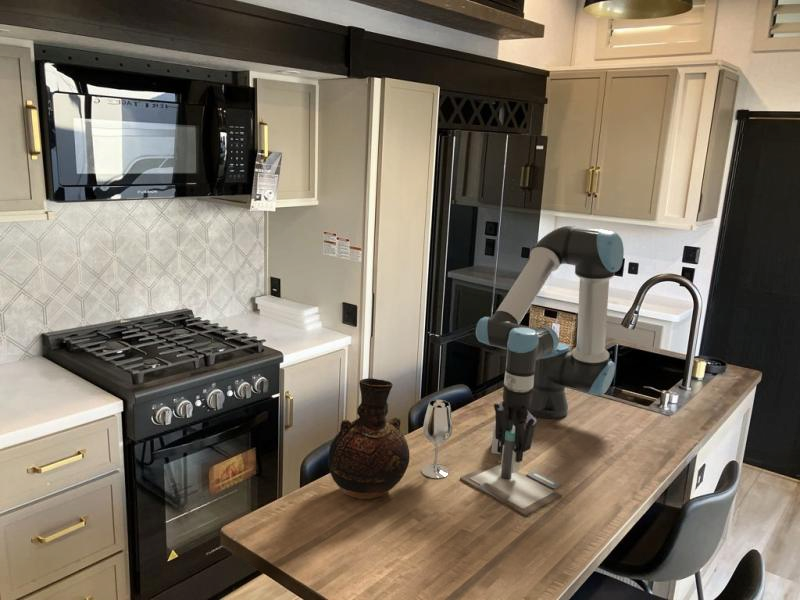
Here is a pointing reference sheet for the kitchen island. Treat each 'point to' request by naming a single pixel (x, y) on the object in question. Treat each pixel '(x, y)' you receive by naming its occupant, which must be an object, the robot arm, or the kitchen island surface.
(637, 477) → the kitchen island surface
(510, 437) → the marker
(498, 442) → the container
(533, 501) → the clipboard
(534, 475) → the plate
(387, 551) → the kitchen island surface
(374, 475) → the ceramic vessel
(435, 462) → the wineglass
